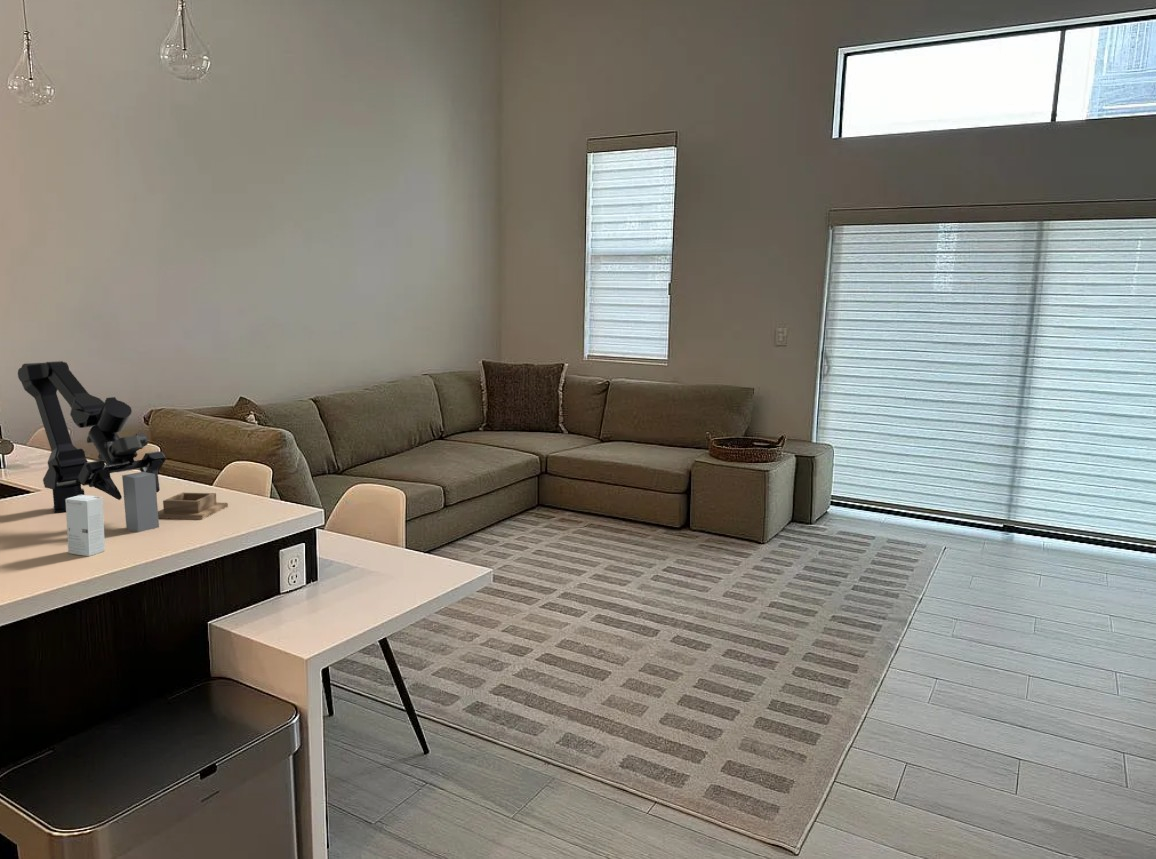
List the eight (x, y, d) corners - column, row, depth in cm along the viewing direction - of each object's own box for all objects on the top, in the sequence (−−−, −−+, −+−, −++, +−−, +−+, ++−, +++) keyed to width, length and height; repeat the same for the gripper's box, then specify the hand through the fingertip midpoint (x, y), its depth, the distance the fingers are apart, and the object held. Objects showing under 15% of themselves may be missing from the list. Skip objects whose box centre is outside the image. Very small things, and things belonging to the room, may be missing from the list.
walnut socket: (202, 519, 201) (201, 503, 200) (151, 518, 202) (150, 502, 201) (228, 506, 214) (227, 491, 213) (180, 505, 214) (179, 490, 214)
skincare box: (67, 554, 173) (62, 498, 171) (85, 548, 177) (81, 494, 175) (89, 556, 171) (84, 501, 169) (107, 550, 175) (103, 496, 173)
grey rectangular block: (138, 532, 189) (134, 477, 187) (126, 528, 192) (122, 475, 190) (159, 527, 194) (155, 474, 192) (146, 524, 196) (142, 471, 194)
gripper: (80, 428, 184) (111, 481, 180) (158, 418, 200) (189, 467, 196) (65, 459, 189) (95, 511, 185) (142, 447, 205) (172, 495, 201)
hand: (139, 494), depth 192 cm, fingers open, 9 cm apart
